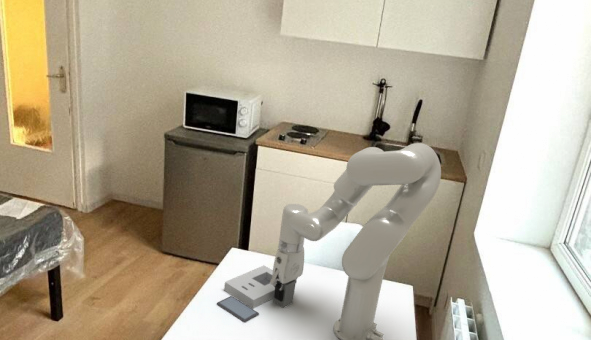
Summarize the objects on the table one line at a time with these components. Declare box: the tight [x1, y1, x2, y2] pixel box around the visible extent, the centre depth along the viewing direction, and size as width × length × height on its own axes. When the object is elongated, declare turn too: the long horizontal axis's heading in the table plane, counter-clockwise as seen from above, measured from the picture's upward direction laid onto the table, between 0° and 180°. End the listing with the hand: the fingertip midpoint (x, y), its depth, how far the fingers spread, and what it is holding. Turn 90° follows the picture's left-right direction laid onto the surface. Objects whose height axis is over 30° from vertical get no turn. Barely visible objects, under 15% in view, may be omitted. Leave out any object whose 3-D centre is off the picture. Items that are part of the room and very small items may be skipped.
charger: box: [273, 280, 297, 309], centre depth 151 cm, size 4×4×8 cm
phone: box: [216, 295, 260, 324], centre depth 145 cm, size 12×6×1 cm, turn 51°
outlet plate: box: [223, 265, 275, 309], centre depth 157 cm, size 13×18×3 cm
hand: (283, 296), depth 152 cm, fingers closed on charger, 4 cm apart
